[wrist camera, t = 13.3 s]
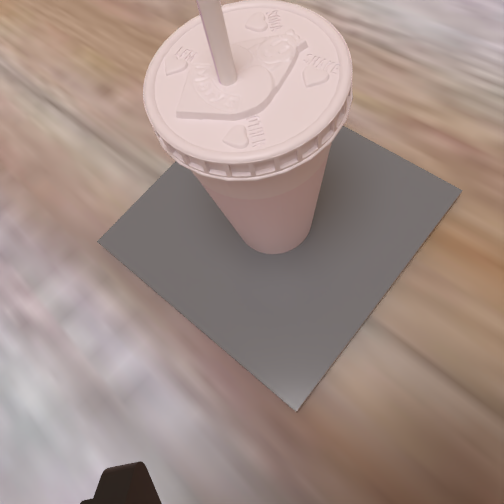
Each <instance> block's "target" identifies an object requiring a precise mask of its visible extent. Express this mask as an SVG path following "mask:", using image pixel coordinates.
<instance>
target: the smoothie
mask: <svg viewBox="0 0 504 504" xmlns="http://www.w3.org/2000/svg"><path fill="white" fill-rule="evenodd" d="M196 2H197V6H198V9H199V13H200V15H198V16H196V17H194V18H192V19H191V20H189V21H188V22H187V23H185V24H184V25H182V26H181V27H180V28H178V29H177V30H176V31H175V32H174V33H173V34H172V35H171V36H170V37H169V38H168V39H167V40H165V41H164V43H163V44H162V45H161V47H160V48H159V49H158V51H157V52H156V54H155V55H154V57H153V59H152V61H151V63H150V65H149V67H148V70H147V73H146V76H145V80H144V86H143V99H144V106H145V110H146V113H147V116H148V118H149V120H150V122H151V124H152V126H153V130H154V132H155V134H156V136H157V138H158V140H159V142H160V144H161V146H162V148H163V149H164V150H165V151H166V152H167V153H168V154H169V155H170V156H171V157H172V158H173V159H174V160H175V161H176V162H177V163H179V164H180V165H182V166H183V167H185V168H187V169H189V170H191V171H192V172H193V174H194V175H195V176H196V177H197V178H198V180H199V181H200V182H201V184H202V185H203V187H204V188H205V189H206V191H207V192H208V193H209V195H210V196H211V197H212V199H213V200H214V201H215V203H216V204H217V205H218V207H219V208H220V209H221V211H222V212H223V213H224V215H225V216H226V217H227V219H228V220H229V221H230V223H231V224H232V225H233V227H234V228H235V229H236V231H237V232H238V234H239V235H240V236H241V238H242V239H243V240H244V241H245V243H246V244H247V245H248V246H250V247H251V248H252V249H254V250H256V251H258V252H261V253H265V254H281V253H285V252H288V251H290V250H292V249H294V248H296V247H297V246H298V245H300V244H301V243H302V242H303V241H304V239H305V238H306V237H307V235H308V233H309V231H310V228H311V224H312V220H313V216H314V212H315V207H316V203H317V199H318V195H319V191H320V187H321V183H322V179H323V175H324V171H325V167H326V163H327V159H328V154H329V150H330V147H331V144H332V141H333V140H334V138H335V137H336V135H337V134H338V132H339V131H340V129H341V128H342V126H343V125H344V123H345V122H346V119H347V116H348V113H349V109H350V106H351V103H352V99H353V94H352V60H351V55H350V52H349V49H348V46H347V44H346V42H345V40H344V39H343V37H342V36H341V34H340V33H339V31H338V30H337V29H336V28H335V27H334V26H333V25H332V24H331V23H330V22H329V21H328V20H326V19H325V18H324V17H322V16H321V15H319V14H317V13H316V12H314V11H312V10H309V9H307V8H305V7H302V6H300V5H297V4H293V3H288V2H284V1H278V0H245V1H239V2H235V3H230V4H225V5H222V6H221V3H220V0H196Z"/></svg>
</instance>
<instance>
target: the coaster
mask: <svg viewBox="0 0 504 504" xmlns="http://www.w3.org/2000/svg"><path fill="white" fill-rule="evenodd" d="M461 192H462V190H460V189H459V188H457V187H455V186H453V185H451V184H449V183H448V182H446V181H444V180H442V179H440V178H438V177H437V176H435V175H433V174H431V173H429V172H427V171H425V170H424V169H422V168H420V167H418V166H416V165H414V164H413V163H411V162H409V161H407V160H405V159H403V158H402V157H400V156H398V155H396V154H394V153H392V152H390V151H389V150H387V149H385V148H383V147H381V146H379V145H378V144H376V143H374V142H372V141H370V140H368V139H367V138H365V137H363V136H361V135H359V134H357V133H355V132H354V131H352V130H350V129H348V128H346V127H344V126H342V128H341V129H340V131H339V132H338V134H337V135H336V137H335V138H334V140H333V141H332V144H331V147H330V150H329V154H328V159H327V163H326V167H325V171H324V175H323V179H322V183H321V187H320V191H319V195H318V199H317V203H316V207H315V212H314V216H313V220H312V224H311V228H310V231H309V233H308V235H307V237H306V238H305V239H304V241H303V242H302V243H301V244H300V245H298V246H297V247H296V248H294V249H292V250H290V251H288V252H285V253H281V254H265V253H261V252H258V251H256V250H254V249H252V248H251V247H250V246H248V245H247V244H246V243H245V241H244V240H243V239H242V238H241V236H240V235H239V234H238V232H237V231H236V229H235V228H234V227H233V225H232V224H231V223H230V221H229V220H228V219H227V217H226V216H225V215H224V213H223V212H222V211H221V209H220V208H219V207H218V205H217V204H216V203H215V201H214V200H213V199H212V197H211V196H210V195H209V193H208V192H207V191H206V189H205V188H204V187H203V185H202V184H201V182H200V181H199V180H198V178H197V177H196V176H195V175H194V174H193V172H192V171H191V170H189V169H187V168H185V167H183V166H182V165H180V164H179V163H177V162H175V163H174V164H173V165H172V166H171V167H170V168H169V169H168V170H167V171H166V172H165V173H164V174H163V175H162V176H161V177H160V178H159V179H158V180H157V181H156V182H155V183H154V184H153V185H152V186H151V187H150V188H149V189H148V190H147V191H146V192H145V193H144V194H143V195H142V196H141V197H140V198H139V199H138V200H137V201H136V202H135V203H134V204H133V205H132V206H131V207H130V209H129V210H128V211H127V212H126V213H125V214H124V215H123V216H122V217H121V218H120V219H119V220H118V221H117V222H116V223H115V224H114V225H113V226H112V227H111V228H110V229H109V230H108V231H107V232H106V233H105V234H104V235H103V236H102V237H101V238H100V239H99V240H98V241H97V242H98V243H99V244H100V245H101V246H103V247H104V248H105V249H106V250H107V251H108V252H110V253H111V254H112V255H113V256H114V257H115V258H117V259H118V260H119V261H120V262H121V263H122V264H124V265H125V266H126V267H127V268H128V269H130V270H131V271H132V272H133V273H134V274H135V275H137V276H138V277H139V278H140V279H141V280H142V281H144V282H145V283H146V284H147V285H148V286H149V287H151V288H152V289H153V290H154V291H155V292H156V293H158V294H159V295H160V296H161V297H162V298H163V299H165V300H166V301H167V302H168V303H169V304H170V305H172V306H173V307H174V308H175V309H176V310H177V311H179V312H180V313H181V314H182V315H183V316H184V317H186V318H187V319H188V320H189V321H190V322H191V323H193V324H194V325H195V326H196V327H197V328H198V329H200V330H201V331H202V332H203V333H204V334H206V335H207V336H208V337H209V338H210V339H211V340H213V341H214V342H215V343H216V344H217V345H218V346H220V347H221V348H222V349H223V350H224V351H225V352H227V353H228V354H229V355H230V356H231V357H232V358H234V359H235V360H236V361H237V362H238V363H239V364H241V365H242V366H243V367H244V368H245V369H246V370H248V371H249V372H250V373H251V374H252V375H253V376H255V377H256V378H257V379H258V380H259V381H260V382H262V383H263V384H264V385H265V386H266V387H267V388H269V389H270V390H271V391H272V392H273V393H275V394H276V395H277V396H278V397H279V398H280V399H282V400H283V401H284V402H285V403H286V404H287V405H289V406H290V407H291V408H292V409H293V410H294V411H296V412H298V410H299V409H300V408H301V406H302V405H303V404H304V402H305V401H306V400H307V398H308V397H309V396H310V394H311V393H312V392H313V390H314V389H315V388H316V386H317V385H318V384H319V382H320V381H321V380H322V378H323V377H324V376H325V374H326V373H327V372H328V370H329V369H330V368H331V366H332V365H333V364H334V362H335V361H336V360H337V358H338V357H339V356H340V354H341V353H342V352H343V350H344V349H345V348H346V346H347V345H348V344H349V342H350V341H351V340H352V338H353V337H354V336H355V334H356V333H357V332H358V330H359V329H360V328H361V326H362V325H363V324H364V322H365V321H366V320H367V318H368V317H369V316H370V314H371V313H372V312H373V310H374V309H375V308H376V306H377V305H378V304H379V302H380V301H381V300H382V298H383V297H384V296H385V294H386V293H387V292H388V290H389V289H390V288H391V286H392V285H393V284H394V282H395V281H396V280H397V278H398V277H399V276H400V274H401V273H402V272H403V270H404V269H405V268H406V266H407V265H408V264H409V262H410V261H411V260H412V258H413V257H414V256H415V254H416V253H417V252H418V250H419V249H420V248H421V246H422V245H423V244H424V242H425V241H426V240H427V238H428V237H429V236H430V234H431V233H432V232H433V230H434V229H435V228H436V226H437V225H438V224H439V222H440V221H441V220H442V218H443V217H444V216H445V214H446V213H447V212H448V210H449V209H450V208H451V206H452V205H453V204H454V202H455V201H456V200H457V198H458V197H459V195H460V194H461Z"/></svg>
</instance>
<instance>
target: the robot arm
mask: <svg viewBox="0 0 504 504" xmlns="http://www.w3.org/2000/svg"><path fill="white" fill-rule="evenodd" d="M80 504H162V503H161V501H160V499H159V496H158V494H157V492H156V489H155V487H154V484H153V482H152V480H151V477H150V475H149V473H148V470H147V468H146V466H145V464H144V463H143V462H135V463H130V464H125V465H120V466H115V467H110V468H107V469H105V470H104V472H103V473H102V475H101V478H100V481H99V484H98V486H97V489H96V492H95V495H94V498H93V499H89V500H84V501H82V502H81V503H80Z"/></svg>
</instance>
